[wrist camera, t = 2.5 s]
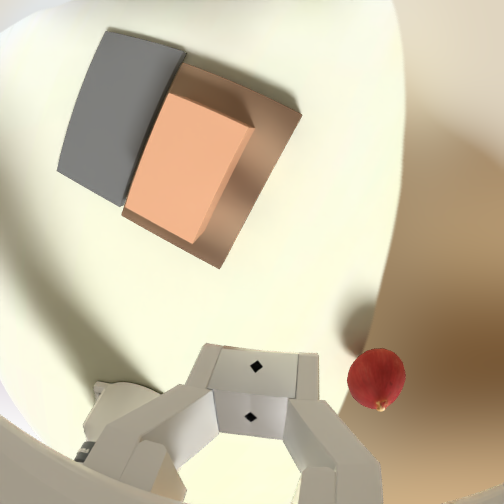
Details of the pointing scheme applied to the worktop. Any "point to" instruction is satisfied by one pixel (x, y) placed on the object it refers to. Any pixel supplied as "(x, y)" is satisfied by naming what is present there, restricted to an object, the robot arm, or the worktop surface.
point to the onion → (376, 378)
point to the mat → (116, 113)
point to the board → (248, 167)
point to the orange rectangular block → (186, 166)
